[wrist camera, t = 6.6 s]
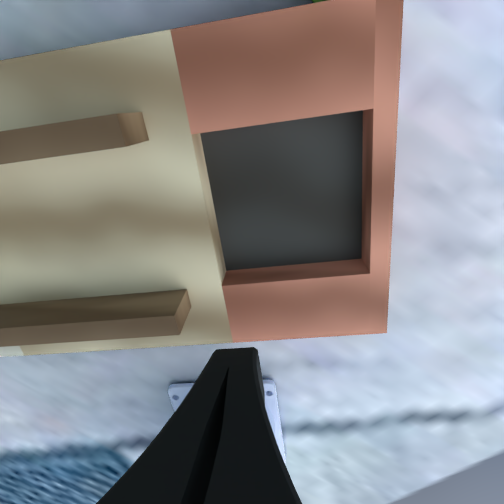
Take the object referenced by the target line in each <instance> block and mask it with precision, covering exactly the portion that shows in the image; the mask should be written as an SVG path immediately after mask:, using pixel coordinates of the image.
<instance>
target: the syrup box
mask: <svg viewBox="0 0 504 504" xmlns="http://www.w3.org/2000/svg"><path fill="white" fill-rule="evenodd" d="M322 1H328V0H312V2H313V3H317V2H322Z"/></svg>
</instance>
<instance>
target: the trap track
mask: <svg viewBox="0 0 504 504" xmlns="http://www.w3.org/2000/svg"><path fill="white" fill-rule="evenodd" d="M402 18H403V0H328V1H322V2H317V3H312V4H306V5H301V6H295V7H290V8H284V9H279V10H273V11H268V12H262V13H257V14H251V15H246V16H241V17H235V18H230V19H224V20H219V21H213V22H208V23H202V24H197V25H191V26H186V27H180V28H175V29H169V30H164V31H159V32H153V33H148V34H142V35H137V36H131V37H126V38H120V39H115V40H109V41H104V42H98V43H93V44H88V45H82V46H77V47H71V48H66V49H60V50H55V51H49V52H44V53H38V54H33V55H27V56H22V57H17V58H11V59H6V60H0V357H9V356H25V355H41V354H57V353H73V352H89V351H105V350H121V349H137V348H154V347H170V346H186V345H202V344H218V343H234V342H250V341H266V340H282V339H298V338H314V337H330V336H346V335H362V334H378V333H387V317H388V297H389V277H390V257H391V237H392V217H393V197H394V178H395V158H396V138H397V118H398V98H399V78H400V58H401V38H402Z"/></svg>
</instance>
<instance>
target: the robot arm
mask: <svg viewBox="0 0 504 504" xmlns="http://www.w3.org/2000/svg"><path fill="white" fill-rule="evenodd" d="M268 391H270V392H268ZM168 395H169V398H170V401H171V403H172V406H173V409H174V414H173V415H172V416H171V418H170V419H169V420H168V422H167V423H166V424H165V426H164V427H163V428H162V430H161V431H160V432H159V434H158V435H157V436H156V438H155V439H154V440H153V441H152V442H151V444H150V445H149V446H148V447H147V449H146V450H145V451H144V452H143V453H142V455H141V456H140V457H139V458H138V459H137V460H136V461H135V463H134V464H133V465H132V466H131V467H130V468H129V469H128V471H127V472H126V473H125V474H124V475H123V476H122V477H121V478H120V479H119V480H118V481H117V482H116V483H115V484H114V486H113V487H112V488H111V489H110V490H109V491H108V492H107V493H106V494H105V495H104V496H103V497H102V498H101V499H100V500H99V501H98V502H97V503H96V504H302V503H301V501H300V498H299V496H298V494H297V492H296V490H295V487H294V485H293V483H292V480H291V478H290V475H289V473H288V471H287V468H286V466H285V465H286V457H285V449H284V442H283V435H282V428H281V421H280V414H279V407H278V400H277V393H276V386H275V382H274V381H272V380H268V379H267V380H262V374H261V368H260V362H259V356H258V350H257V349H255V348H254V347H250V348H234V349H218V350H216V351H215V352H214V353H213V354H212V356H211V358H210V359H209V361H208V363H207V364H206V366H205V368H204V369H203V371H202V372H201V374H200V376H199V377H198V379H197V380H196V382H195V383H184V384H171V385H170V386H169V388H168Z"/></svg>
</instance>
